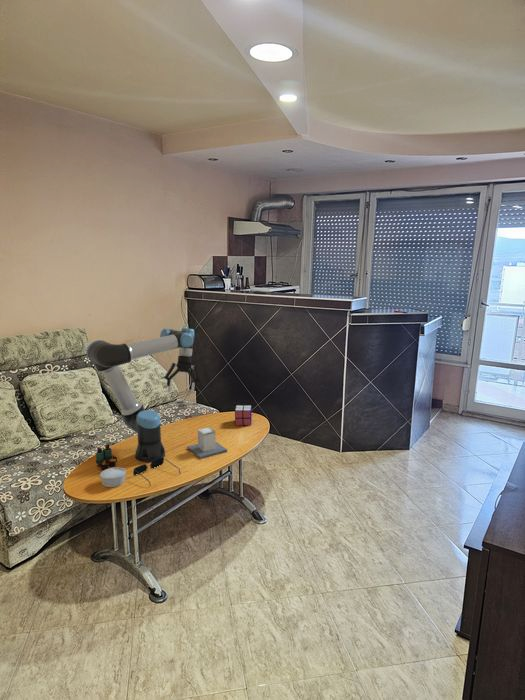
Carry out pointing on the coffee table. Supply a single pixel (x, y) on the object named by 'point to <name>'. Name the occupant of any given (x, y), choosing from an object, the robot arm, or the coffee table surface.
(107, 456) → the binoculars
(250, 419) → the puzzle cube
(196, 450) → the post dock
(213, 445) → the white rectangular box
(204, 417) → the coffee table surface
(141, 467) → the sunglasses
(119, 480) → the ramekin
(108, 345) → the robot arm
